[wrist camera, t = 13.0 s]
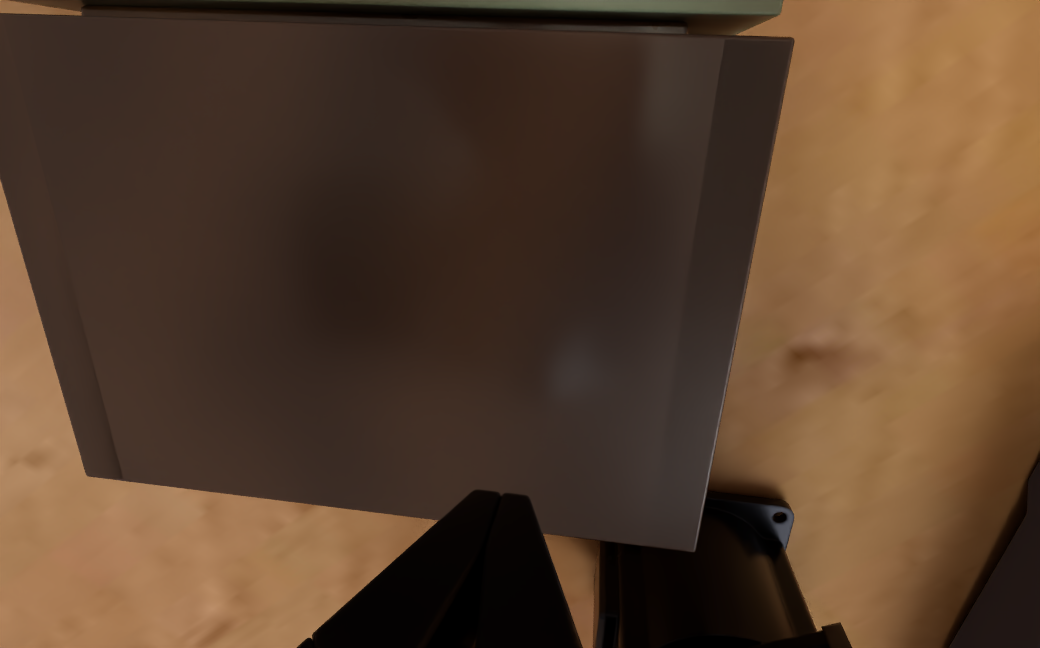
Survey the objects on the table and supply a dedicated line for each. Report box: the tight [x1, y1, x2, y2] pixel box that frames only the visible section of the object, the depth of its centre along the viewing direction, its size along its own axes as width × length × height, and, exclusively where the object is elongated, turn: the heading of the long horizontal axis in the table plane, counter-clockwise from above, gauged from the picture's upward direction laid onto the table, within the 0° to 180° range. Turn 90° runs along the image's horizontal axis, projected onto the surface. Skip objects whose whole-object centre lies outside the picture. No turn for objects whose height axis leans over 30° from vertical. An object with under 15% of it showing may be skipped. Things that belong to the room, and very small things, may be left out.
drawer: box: [10, 0, 783, 35], centre depth 11 cm, size 13×10×3 cm
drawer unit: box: [0, 13, 794, 552], centre depth 15 cm, size 13×9×10 cm
